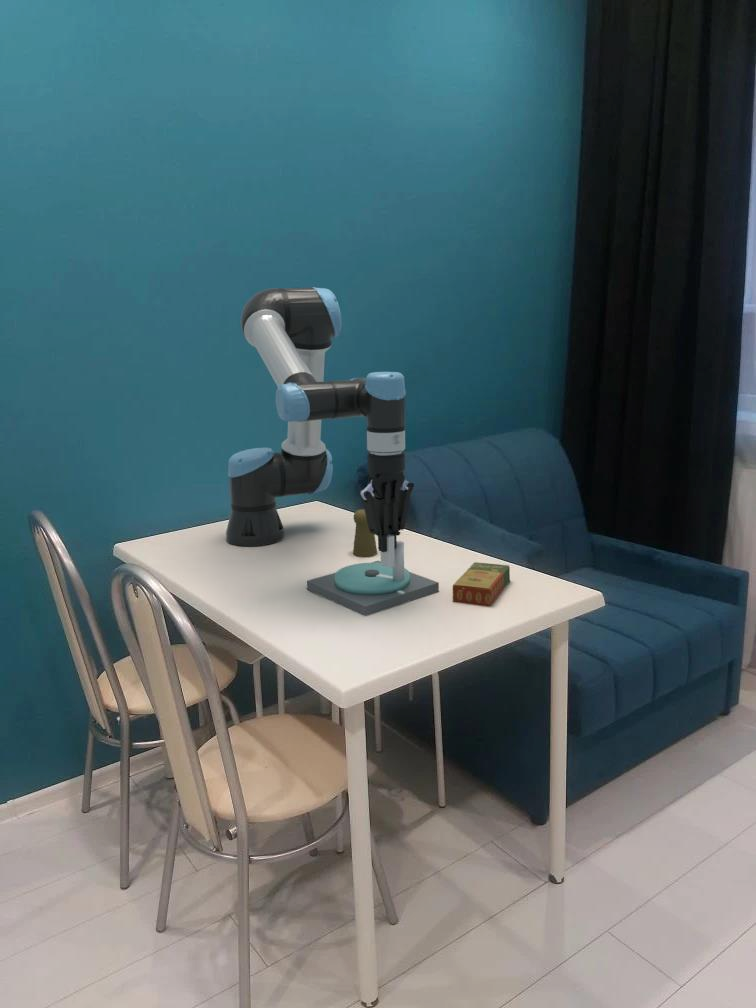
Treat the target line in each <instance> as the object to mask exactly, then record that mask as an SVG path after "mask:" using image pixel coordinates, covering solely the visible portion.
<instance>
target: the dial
mask: <svg viewBox="0 0 756 1008" xmlns="http://www.w3.org/2000/svg"><path fill="white" fill-rule="evenodd" d="M396 542H397V543H396V544H397V547H396V549H394V562H395V566H394V567H391V568H388V567H385V566H383V565H381V563H374V562H375V561H373V563H371V562H361V563H360V562H359V563H354V564H351V565H347V566H344V567H341V568H339V569H338V570H336V571H335V572H334V573H335V575H334V578H335V585H336V587H338V588H339V589H341V590H343V591H346V592H349V593H354V594H363V595H377V594H386V593H391V592H395V591H399V590H401V589H403V588H405V587H406V586H407V585H408V584H409V582H410V574H409V572H410V571H409V570H408V569H407V568H405V542H403V541H401V540H396Z"/></svg>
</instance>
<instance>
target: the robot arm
mask: <svg viewBox="0 0 756 1008" xmlns="http://www.w3.org/2000/svg"><path fill="white" fill-rule="evenodd" d="M340 308H341V307H340V305H339V302H338V300H337V297H336V295H335V293H334V292H332V290H330V289H328V288H324V287H314V286H311V287H286V288H285V287H283V288H278V287H274V288H273V287H271V288H267V289H263V290H261V291H258V292H257V293H255V295H253V296H251V298H250V299H249V300H248V301H246V304H245V305H244V307H243V309H242V312H241V316H240V327H241V331H242V334H243V336H244V338H245V339H246V341H247V342H248V344H249V345H251V346H252V347H254V348H256V350H257V352H258V354H259V355H260V358H261V359H262V361H263V363H264V365H265V367H266V369H267V370H268V372H269V375H271V377H272V379H273V381H274V382H275V384H276V386H277V388H276V391H275V408H276V409H277V410H276V411H277V415H278V417H279V418H280V420H281V421H283V422H287V438H286V439H285V440H283V441H282V442H281V451H280V452H274V450H273V449H272V448H270V447H255V448H250V449H249V448H248V449H245V450H241V451H238V452H236V453H234V454H233V455H231V456H230V458H229V459H228V469H227V470H228V472H227V476H228V479H229V483H228V484H229V496H230V510H231V511H230V516H229V520H228V523H227V528H226V531H225V538H226V542H227V543H228V544H232V545H234V546H241V547H259V546H265V545H270V544H276V543H278V542H280V541H281V540H283V539H284V538H285V528H284V525H283V522H282V520H281V517H280V514H279V512H278V510H277V501H276V500H277V498H281V497H290V496H300V495H313V494H315V493H321V492H323V491H325V490H326V489H328V487H329V486H330V484H331V481H332V478H333V471H334V465H333V456H332V453H331V452H330V451H329V449H328V448H326V443H324V442H323V441H322V440H321V439H322V438H321V436H322V434H321V433H322V420H331V419H334V420H335V419H344V418H345V419H346V418H359V417H365V418H366V451H369V452H368V454H367V456H366V457H367V458H366V459H367V471H368V474H369V478H368V481H367V486H366V487H364V489H359V490H358V492H357V493H358V495H359V498H360V499H361V500H362V504H363V509H365V514H366V518H367V523H368V527H369V532H370V533H372V534H374V535H375V536H377V546H378V547H377V550H378V552H380V561H381V565H383V566H385V567H388V568H391V567H394V566H395V562H394V549H396V547H397V544H396V543H397V542H396V541H397V536H400V535H401V531H403V530H404V529H405V526H406V521H407V516H408V511H409V506H410V497H411V494H412V492H413V489H414V487H415V484H414V482H411V481H408V480H407V479H406V476H405V474H404V472H405V470H406V453H405V452H404V451H405V449H406V395H407V393H406V392H407V390H406V387H405V384H406V383H405V376H404V374H402V373H401V372H399V371H374V372H370V373H368V374H367V375H366V377H353V378H351V379H346V380H330V381H324V377H325V376H324V374H325V360H326V359H325V357H326V356H325V355H326V352H327V351H328V350H330V348H332V340H333V338H337V337H339V336H340V334H341V332H342V331H341V330H342V314H341V309H340Z"/></svg>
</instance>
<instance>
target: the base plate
mask: <svg viewBox="0 0 756 1008" xmlns="http://www.w3.org/2000/svg"><path fill="white" fill-rule="evenodd" d="M373 562H374V563H381V560H376V561H373ZM373 562H372V561H371V562H370V563H373ZM335 573H336V572H333V573H329V574H326V575H323V576H319V577H316V578H312V579H309V580H306V590H307V591H309V592H311V593H314V594H316V595H318V596H320V597H322V598H325V599H326V600H329V601H330V602H331V601H332V602H334V603H335V604H338V605H340V606H342V607H345V608H347V609H349V610H351V611H353V612H355V613H358V614H360V615H363V616H364V617H367V616H370V615H373V614H376V613H378V612H382V611H384V610H385V611H386V610H387V609H391V608H394V607H396V606H400V605H403V604H406V603H408V602H412V601H414V600H417V599H420V598H423V597H427V596H430V595H432V594H435V593H438V592H439V589H440V588H439V587H440V586H439V585H440V584H439V583H440V582H438V581H435V580H434V579H433V580H432V579H430V578H428V577H424V576H421V575H419V574H416V573H413V572H411V571H409V574H410V582H409V584H408V585H407V586H406V587H405V588H403V589H401V590H399V591H395V592H391V593H386V594H377V595H363V594H354V593H349V592H346V591H343V590H341V589H339V588H338V587H336V585H335V578H334V575H335Z"/></svg>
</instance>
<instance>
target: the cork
mask: <svg viewBox="0 0 756 1008" xmlns="http://www.w3.org/2000/svg"><path fill="white" fill-rule="evenodd" d="M353 522H354V523H355V531H354V541H353V549H352V551H353V552H352V555H353V556H354V557H358V558H371V557H375V556H377V555H378V547H377V542H376V535H375V534H372V533H370V532H369V527H368V523H367V518H366V514H365V509H364V508H363V509H357V510H355V512H354V514H353Z"/></svg>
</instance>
